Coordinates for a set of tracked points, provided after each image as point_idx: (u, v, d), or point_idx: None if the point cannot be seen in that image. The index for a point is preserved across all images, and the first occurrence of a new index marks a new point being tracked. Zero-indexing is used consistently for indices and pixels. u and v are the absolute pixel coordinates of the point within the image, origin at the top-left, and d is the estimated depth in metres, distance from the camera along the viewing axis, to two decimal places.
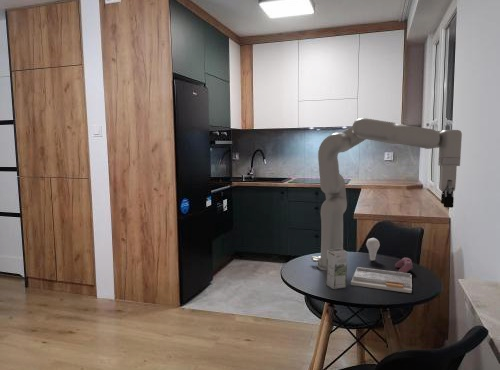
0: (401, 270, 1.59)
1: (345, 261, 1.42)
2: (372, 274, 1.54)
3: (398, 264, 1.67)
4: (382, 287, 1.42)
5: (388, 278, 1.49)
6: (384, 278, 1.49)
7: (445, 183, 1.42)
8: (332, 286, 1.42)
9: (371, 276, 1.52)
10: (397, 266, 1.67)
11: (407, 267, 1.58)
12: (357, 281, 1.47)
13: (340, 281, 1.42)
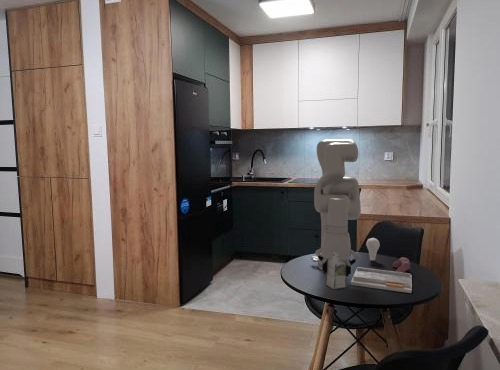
0: (399, 270, 1.59)
1: None
2: (372, 274, 1.54)
3: (396, 264, 1.67)
4: (382, 287, 1.42)
5: (388, 278, 1.49)
6: (384, 278, 1.49)
7: (349, 252, 1.41)
8: (332, 286, 1.42)
9: (371, 276, 1.52)
10: (395, 266, 1.68)
11: (405, 266, 1.59)
12: (357, 281, 1.47)
13: (340, 281, 1.42)
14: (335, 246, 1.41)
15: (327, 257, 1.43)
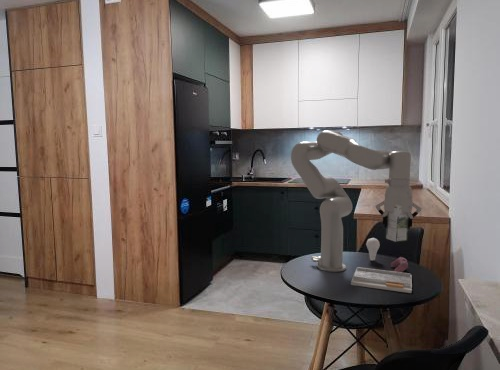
0: (396, 270, 1.59)
1: (406, 213, 1.44)
2: (372, 274, 1.54)
3: (394, 264, 1.67)
4: (382, 287, 1.42)
5: (388, 278, 1.49)
6: (384, 278, 1.49)
7: (412, 204, 1.43)
8: (394, 239, 1.44)
9: (371, 276, 1.52)
10: (393, 266, 1.68)
11: (403, 266, 1.59)
12: (357, 281, 1.47)
13: (402, 234, 1.44)
14: (397, 199, 1.43)
15: (389, 210, 1.45)
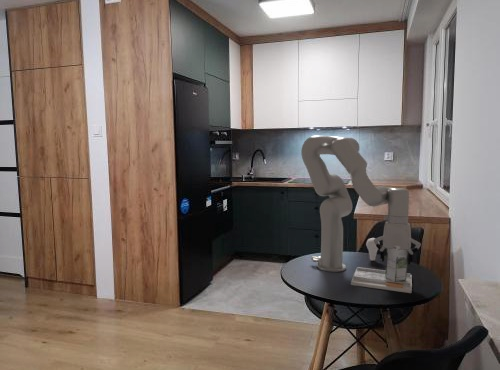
0: None
1: (405, 254, 1.46)
2: (372, 274, 1.54)
3: None
4: (382, 287, 1.42)
5: None
6: (384, 278, 1.49)
7: (410, 241, 1.44)
8: (393, 279, 1.46)
9: (371, 276, 1.52)
10: None
11: None
12: (357, 281, 1.47)
13: (401, 274, 1.46)
14: (396, 235, 1.45)
15: (388, 246, 1.46)
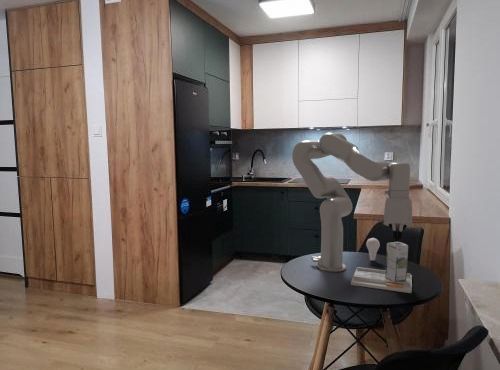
0: None
1: (405, 254, 1.46)
2: (372, 274, 1.54)
3: None
4: (382, 287, 1.42)
5: None
6: (384, 278, 1.49)
7: None
8: (393, 279, 1.46)
9: (371, 276, 1.52)
10: None
11: None
12: (357, 281, 1.47)
13: (401, 274, 1.46)
14: (397, 210, 1.44)
15: (389, 221, 1.45)
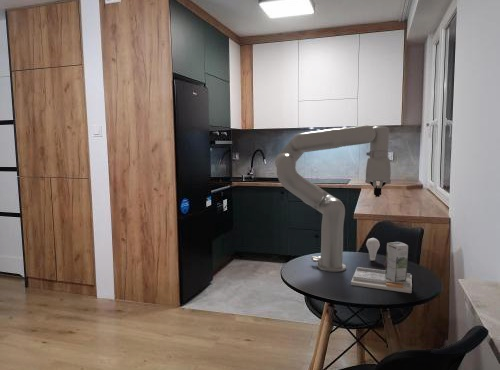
0: None
1: (405, 254, 1.46)
2: (372, 274, 1.54)
3: None
4: (382, 287, 1.42)
5: None
6: (384, 278, 1.49)
7: (390, 173, 1.61)
8: (393, 279, 1.46)
9: (371, 276, 1.52)
10: None
11: None
12: (357, 281, 1.47)
13: (401, 274, 1.46)
14: (377, 169, 1.61)
15: (370, 179, 1.63)
